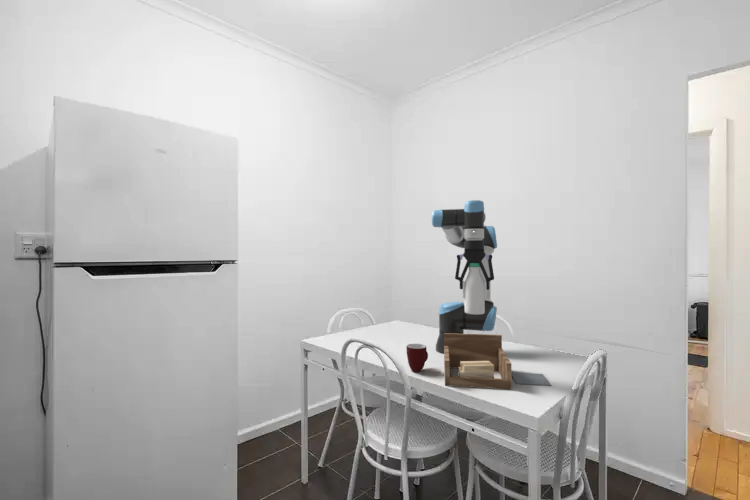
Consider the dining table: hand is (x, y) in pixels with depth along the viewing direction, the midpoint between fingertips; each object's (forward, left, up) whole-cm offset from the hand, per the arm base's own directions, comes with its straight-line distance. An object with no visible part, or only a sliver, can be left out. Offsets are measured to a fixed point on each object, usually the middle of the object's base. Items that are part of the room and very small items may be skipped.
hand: (474, 297), depth 148 cm
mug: (-14, -18, -30) cm, 38 cm away
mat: (+14, +14, -30) cm, 36 cm away
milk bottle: (0, 0, -6) cm, 6 cm away
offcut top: (+8, -5, -26) cm, 27 cm away
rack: (+3, -3, -30) cm, 30 cm away
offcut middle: (+7, -6, -28) cm, 30 cm away
